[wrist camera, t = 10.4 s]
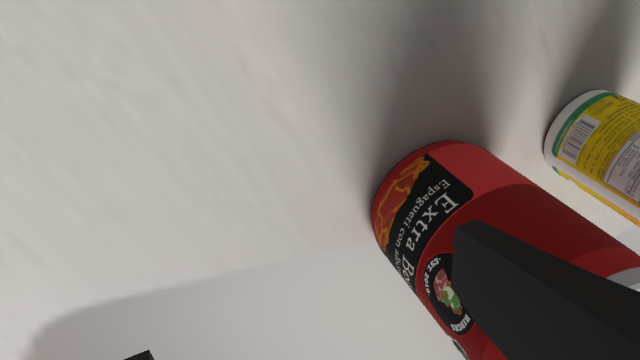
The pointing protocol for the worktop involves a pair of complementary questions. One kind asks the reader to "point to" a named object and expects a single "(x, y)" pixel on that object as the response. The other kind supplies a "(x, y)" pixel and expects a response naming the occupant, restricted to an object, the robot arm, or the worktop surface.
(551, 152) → the supplement bottle
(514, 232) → the canned food
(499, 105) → the worktop surface
